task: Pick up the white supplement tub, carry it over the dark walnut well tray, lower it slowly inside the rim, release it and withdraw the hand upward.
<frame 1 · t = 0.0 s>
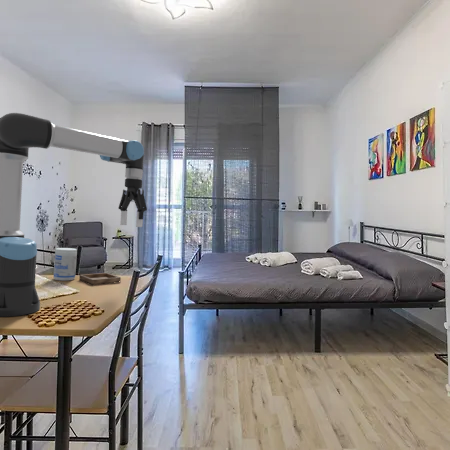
hand: (131, 226, 158), 28 cm above the table, fingers open, 13 cm apart
supplement tub: (64, 279, 169), on the table
well tray: (99, 281, 169), on the table
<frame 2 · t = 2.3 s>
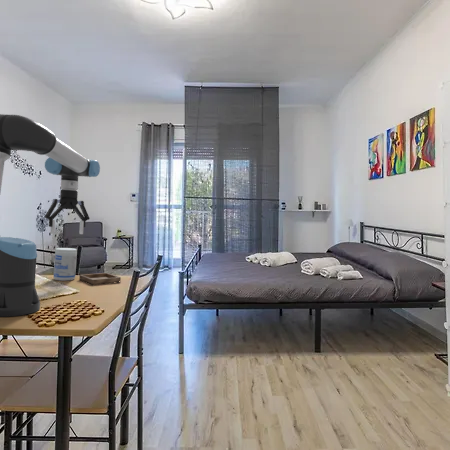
hand: (67, 234, 168), 22 cm above the table, fingers open, 13 cm apart
nothing on the table moved.
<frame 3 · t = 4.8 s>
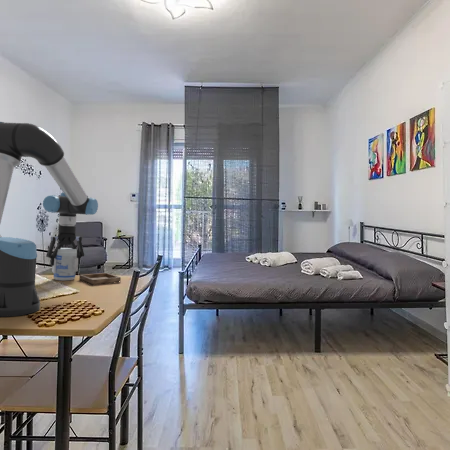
hand: (64, 271, 168), 4 cm above the table, fingers closed on supplement tub, 9 cm apart
supplement tub: (64, 279, 169), on the table, touching gripper
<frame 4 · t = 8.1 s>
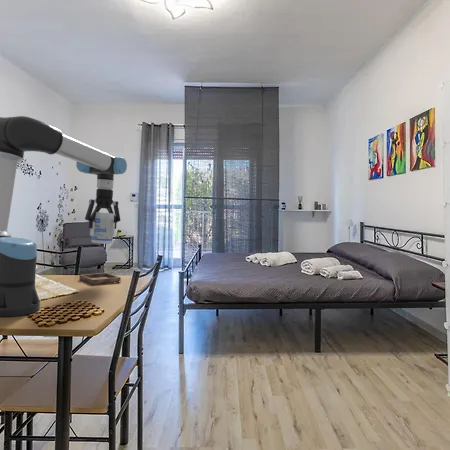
hand: (102, 235, 168), 22 cm above the table, fingers closed on supplement tub, 9 cm apart
supplement tub: (101, 243, 168), point 18 cm above the table, touching gripper
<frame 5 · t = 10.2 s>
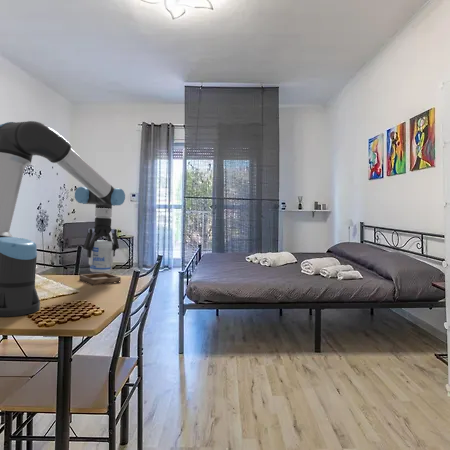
hand: (100, 263, 169), 8 cm above the table, fingers closed on supplement tub, 9 cm apart
supplement tub: (100, 271, 169), point 5 cm above the table, touching gripper
when the fingers open (6 cm above the table, at t = 11.7 s): supplement tub drops 2 cm, resting on well tray.
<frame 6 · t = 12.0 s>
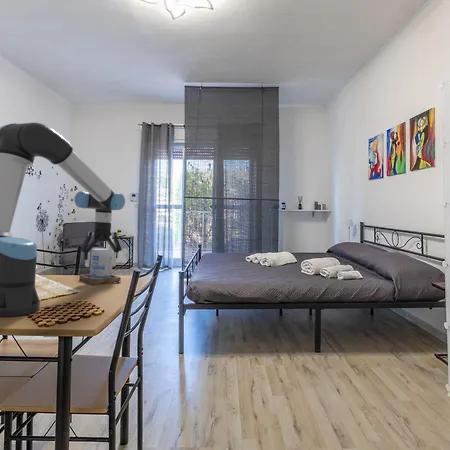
hand: (100, 266, 169), 7 cm above the table, fingers open, 13 cm apart
supplement tub: (100, 279, 169), point 1 cm above the table, touching well tray
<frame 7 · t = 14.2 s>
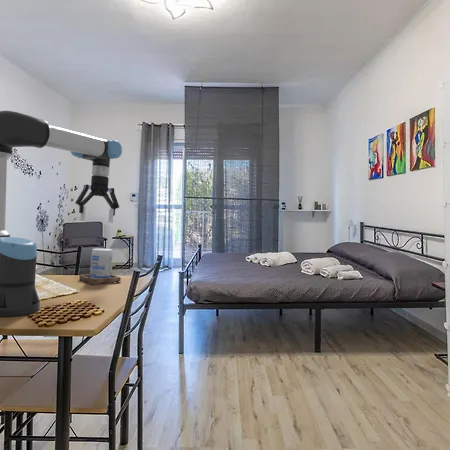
hand: (96, 221, 162), 29 cm above the table, fingers open, 13 cm apart
nothing on the table moved.
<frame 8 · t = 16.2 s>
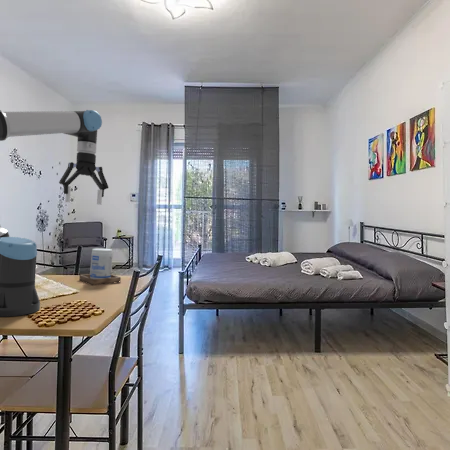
hand: (83, 203, 149), 37 cm above the table, fingers open, 13 cm apart
nothing on the table moved.
at the end: supplement tub 0.3 cm from the well tray (horizontally); supplement tub tilted 0°; the gripper is holding nothing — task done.
